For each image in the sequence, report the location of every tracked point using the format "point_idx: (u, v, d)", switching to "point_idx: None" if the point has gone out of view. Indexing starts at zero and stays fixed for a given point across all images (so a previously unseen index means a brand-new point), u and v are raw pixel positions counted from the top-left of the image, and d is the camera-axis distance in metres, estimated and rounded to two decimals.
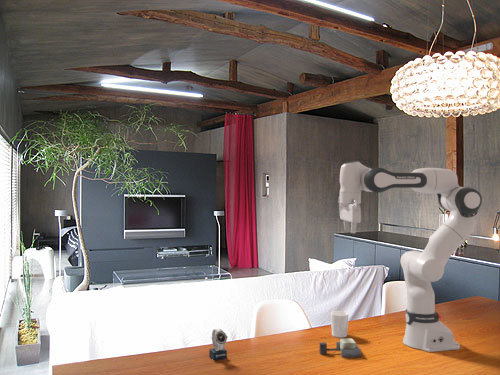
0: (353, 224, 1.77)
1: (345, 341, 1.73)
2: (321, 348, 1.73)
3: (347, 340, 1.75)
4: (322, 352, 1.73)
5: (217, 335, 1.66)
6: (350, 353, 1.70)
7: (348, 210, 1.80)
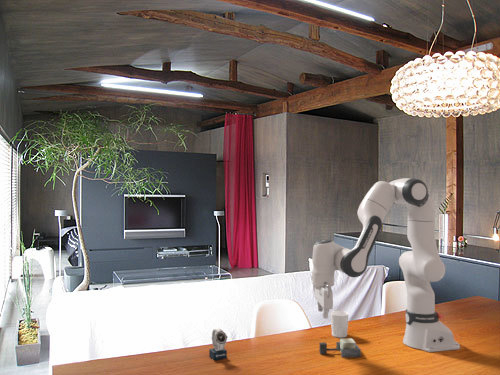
0: (325, 309, 1.68)
1: (345, 341, 1.73)
2: (321, 348, 1.73)
3: (347, 340, 1.75)
4: (322, 352, 1.73)
5: (217, 335, 1.66)
6: (350, 353, 1.70)
7: (320, 293, 1.71)
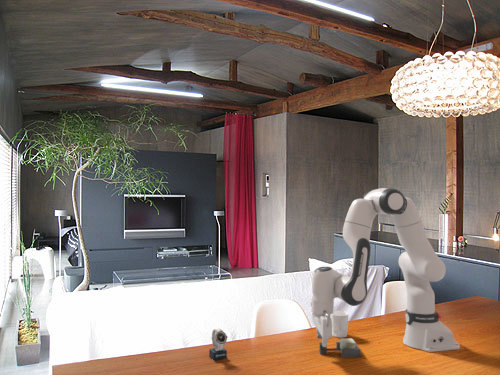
0: (324, 338, 1.67)
1: (345, 341, 1.73)
2: (321, 348, 1.73)
3: (347, 340, 1.75)
4: (322, 352, 1.73)
5: (217, 335, 1.66)
6: (350, 353, 1.70)
7: (320, 321, 1.71)
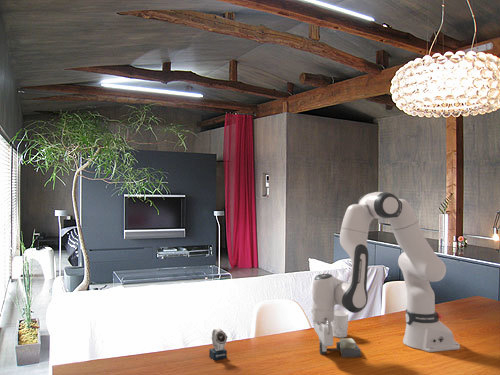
0: None
1: (345, 341, 1.73)
2: (321, 348, 1.73)
3: (347, 340, 1.75)
4: (322, 352, 1.73)
5: (217, 335, 1.66)
6: (350, 353, 1.70)
7: (321, 328, 1.71)
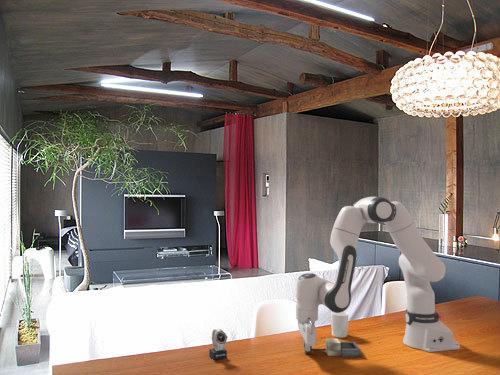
0: None
1: (330, 341, 1.73)
2: None
3: (332, 340, 1.74)
4: (307, 352, 1.72)
5: (217, 335, 1.66)
6: (350, 353, 1.70)
7: (304, 328, 1.70)
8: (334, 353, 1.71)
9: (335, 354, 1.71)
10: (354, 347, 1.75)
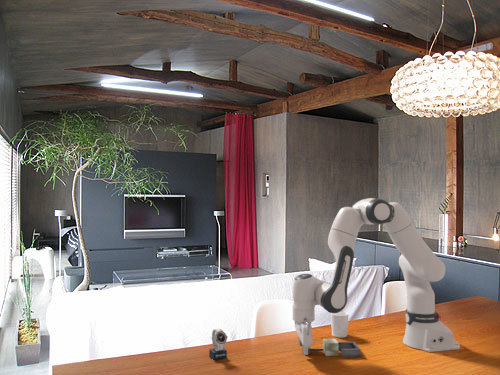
0: (305, 346, 1.67)
1: (328, 341, 1.73)
2: None
3: (330, 340, 1.74)
4: None
5: (217, 335, 1.66)
6: (350, 353, 1.70)
7: (300, 328, 1.70)
8: (332, 353, 1.71)
9: (333, 354, 1.71)
10: (354, 347, 1.75)
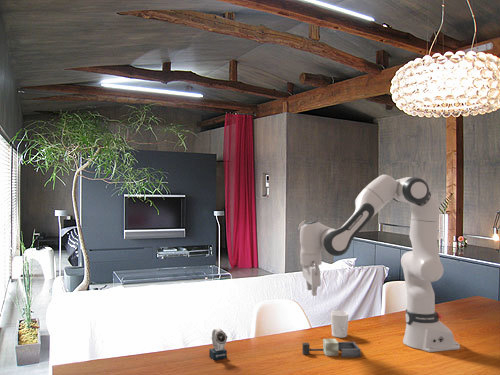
0: (313, 287, 1.75)
1: (328, 341, 1.73)
2: (304, 349, 1.72)
3: (330, 340, 1.74)
4: (305, 352, 1.72)
5: (217, 335, 1.66)
6: (350, 353, 1.70)
7: (309, 272, 1.79)
8: (332, 353, 1.71)
9: (333, 354, 1.71)
10: (354, 347, 1.75)
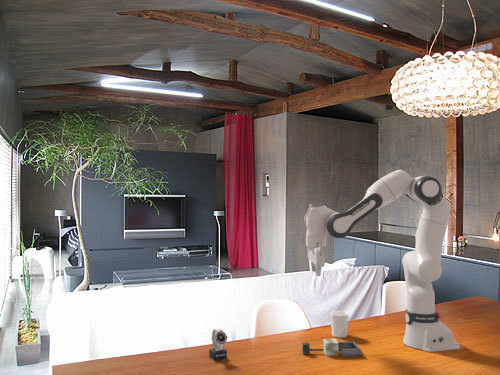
0: (318, 267, 1.82)
1: (328, 341, 1.73)
2: (304, 349, 1.72)
3: (330, 340, 1.74)
4: (305, 352, 1.72)
5: (217, 335, 1.66)
6: (350, 353, 1.70)
7: (313, 253, 1.86)
8: (332, 353, 1.71)
9: (333, 354, 1.71)
10: (354, 347, 1.75)
